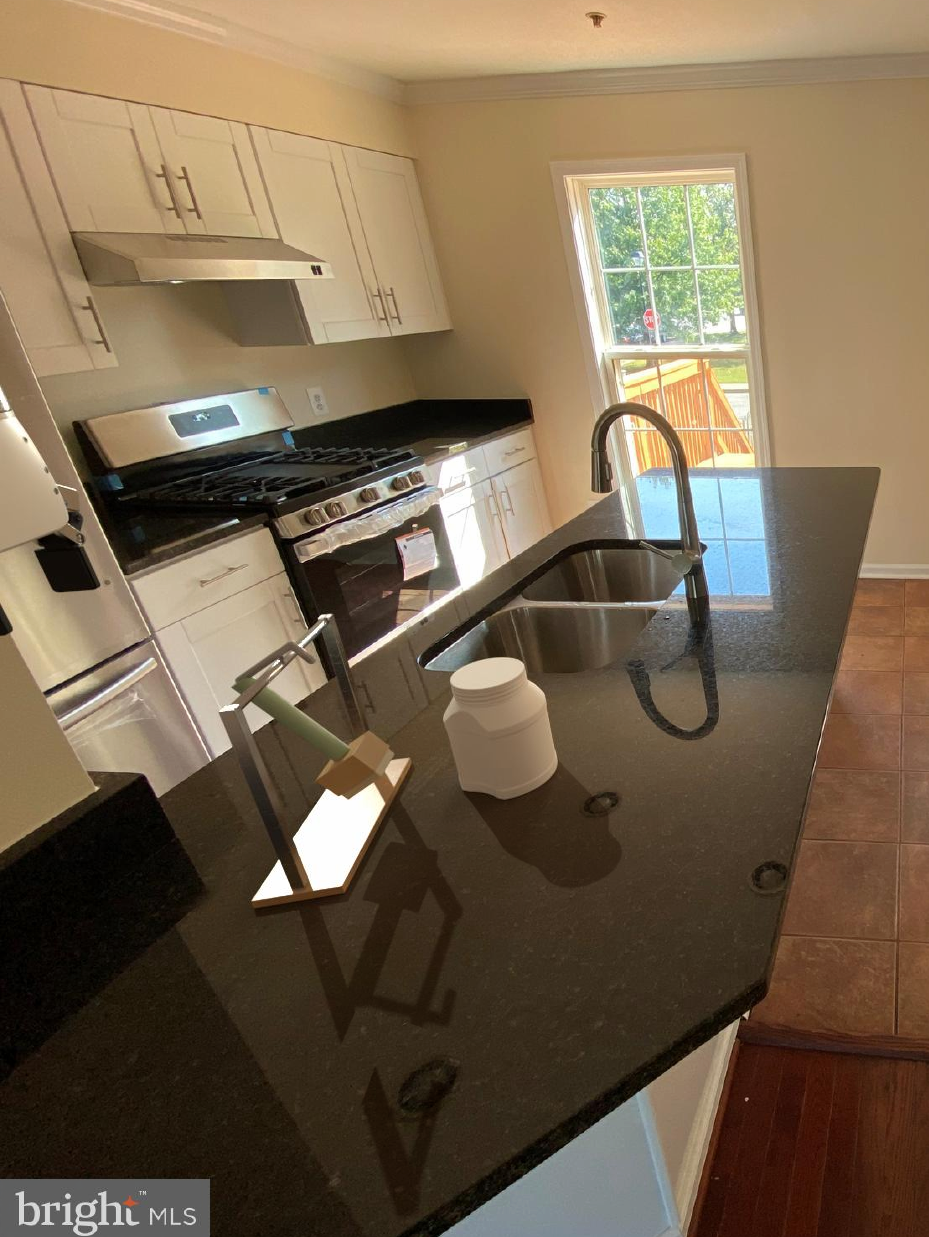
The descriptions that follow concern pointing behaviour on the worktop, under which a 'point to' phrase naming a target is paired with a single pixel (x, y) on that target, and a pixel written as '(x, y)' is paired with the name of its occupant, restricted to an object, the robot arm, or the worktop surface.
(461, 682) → the jar
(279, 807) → the metal frame rack
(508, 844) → the worktop surface
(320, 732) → the hook stand
